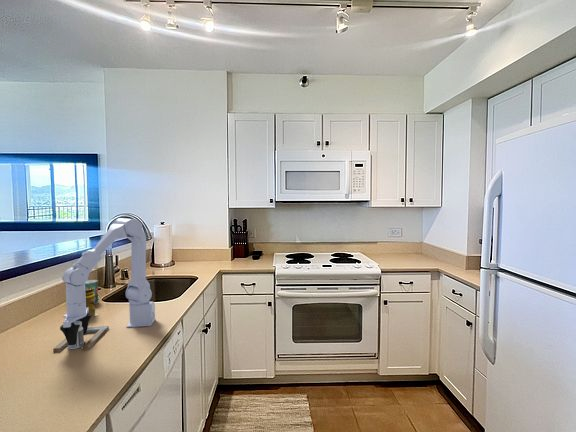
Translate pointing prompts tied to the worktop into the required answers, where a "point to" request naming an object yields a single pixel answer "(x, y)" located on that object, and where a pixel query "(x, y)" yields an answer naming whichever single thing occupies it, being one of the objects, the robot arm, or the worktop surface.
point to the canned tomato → (93, 285)
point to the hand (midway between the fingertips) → (77, 339)
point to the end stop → (96, 329)
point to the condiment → (90, 301)
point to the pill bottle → (78, 337)
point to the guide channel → (85, 346)
